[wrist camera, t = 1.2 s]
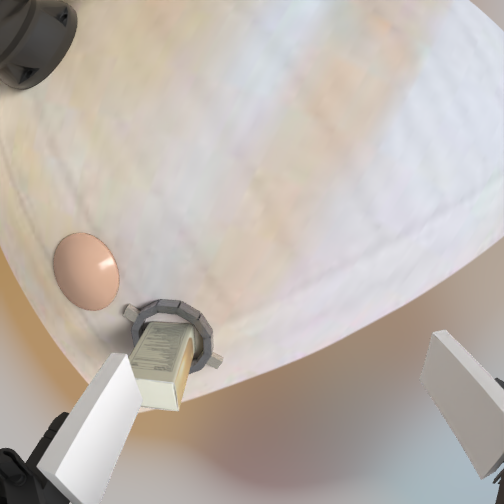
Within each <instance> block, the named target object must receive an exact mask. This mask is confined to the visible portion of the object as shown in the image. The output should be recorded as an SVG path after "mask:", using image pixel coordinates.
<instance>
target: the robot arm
mask: <svg viewBox="0 0 504 504" xmlns="http://www.w3.org/2000/svg"><path fill="white" fill-rule="evenodd" d="M76 28H77V14H76V12H75V10H74V9H73V8H72V7H71V6H69V5H68V4H67V3H65V2H63V1H60V0H0V79H1V80H2V81H3V82H4V83H5V84H6V85H8V86H10V87H14V88H18V89H27V88H30V87H32V86H34V85H36V84H38V83H39V82H41V81H42V80H43V79H45V78H46V77H47V76H48V75H49V74H50V73H51V72H52V71H53V70H54V69H55V68H56V66H57V65H58V64H59V63H60V61H61V60H62V58H63V57H64V55H65V54H66V52H67V51H68V49H69V47H70V45H71V43H72V41H73V38H74V35H75V32H76ZM419 380H420V382H421V384H422V385H423V387H424V388H425V390H426V391H427V392H428V394H429V395H430V397H431V398H432V400H433V401H434V403H435V405H436V406H437V407H438V409H439V411H440V412H441V414H442V415H443V417H444V418H445V420H446V422H447V423H448V425H449V426H450V428H451V430H452V431H453V433H454V434H455V436H456V438H457V439H458V441H459V443H460V444H461V446H462V447H463V449H464V451H465V452H466V454H467V456H468V458H469V459H470V461H471V463H472V464H473V466H474V468H475V470H476V471H477V473H478V475H479V477H480V479H481V480H482V479H483V478H485V477H487V476H489V475H490V474H492V473H493V472H495V471H496V470H497V469H498V468H499V466H500V465H501V464H502V463H503V462H504V382H503V381H502V380H500V379H498V378H495V379H493V378H492V376H491V375H490V374H489V373H488V372H487V371H486V370H485V369H484V368H483V367H482V366H481V365H480V364H479V363H478V362H477V361H476V360H475V359H474V358H473V357H472V355H470V353H469V352H468V351H467V350H466V349H465V348H464V347H463V346H461V345H460V344H459V342H458V341H457V340H456V339H454V338H453V337H452V336H451V335H450V334H449V333H448V332H447V331H446V330H441V331H437V332H433V333H432V336H431V340H430V344H429V348H428V352H427V355H426V359H425V363H424V366H423V370H422V373H421V376H420V379H419ZM142 402H143V399H142V396H141V394H140V391H139V388H138V385H137V383H136V380H135V377H134V374H133V371H132V368H131V365H130V362H129V359H128V356H127V354H123V353H111V354H110V356H109V357H108V358H107V360H106V361H105V363H104V364H103V365H102V367H101V368H100V370H99V371H98V373H97V374H96V375H95V377H94V378H93V380H92V381H91V383H90V384H89V386H88V387H87V389H86V390H85V391H84V393H83V394H82V396H81V397H80V399H79V400H78V402H77V403H76V405H75V406H74V408H73V409H72V411H71V412H70V413H66V412H63V413H62V414H60V415H59V416H58V417H56V418H55V419H54V420H53V422H52V423H51V425H50V426H49V428H48V430H47V431H46V432H45V434H44V437H42V438H41V440H40V441H39V443H38V444H37V446H36V448H35V449H34V451H33V452H32V454H31V455H30V457H29V459H28V460H27V461H26V463H24V461H23V460H22V459H21V458H20V456H19V455H18V454H17V453H16V452H15V451H14V450H12V449H10V448H2V449H0V504H69V502H71V503H72V504H100V503H101V500H102V498H103V495H104V492H105V490H106V487H107V485H108V482H109V480H110V477H111V475H112V472H113V470H114V467H115V465H116V463H117V460H118V458H119V455H120V453H121V451H122V448H123V446H124V443H125V441H126V438H127V436H128V434H129V431H130V429H131V427H132V425H133V422H134V420H135V418H136V416H137V413H138V411H139V409H140V406H141V404H142ZM500 477H501V480H500V481H499V483H498V484H500V486H499V491H498V495H497V500H496V503H495V504H504V469H503V470H502V471H501V472H500V473H499V474H498V475H497V477H496V478H495V479H494V481H493V483H496V482H497V481H498V479H499V478H500Z"/></svg>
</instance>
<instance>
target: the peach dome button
mask: <svg viewBox="0 0 504 504" xmlns="http://www.w3.org/2000/svg"><path fill="white" fill-rule="evenodd" d="M54 273H55V277H56V280H57V283H58V285H59V287H60V289H61V290H62V292H63V293H64V295H65V296H66V297H67V298H68V299H69V300H70V301H71V302H72V303H73V304H75V305H76V306H78V307H80V308H82V309H85V310H91V311H95V310H101V309H103V308H105V307H106V306H108V305H109V304H110V303H111V302H112V301H113V299H114V298H115V296H116V294H117V292H118V288H119V271H118V267H117V264H116V261H115V259H114V257H113V255H112V253H111V252H110V250H109V249H108V248H107V246H106V245H105V244H104V243H103V242H102V241H100V240H99V239H98V238H96V237H94V236H92V235H90V234H86V233H75V234H72V235H69V236H67V237H66V238H64V239H63V240H62V241H61V242H60V244H59V245H58V247H57V249H56V251H55V255H54Z"/></svg>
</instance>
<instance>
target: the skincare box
mask: <svg viewBox="0 0 504 504" xmlns="http://www.w3.org/2000/svg"><path fill="white" fill-rule="evenodd" d="M194 352H195V339H194V327H193V325H192V324H183V323H165V322H150V323H149V324H148V326H147V328H146V329H145V331H144V333H143V334H142V336H141V338H140V339H139V341H138V343H137V344H136V346H135V348H134V350H133V351H132V353H131V355H130V356H129V358H128V359H129V362H130V365H131V368H132V371H133V374H134V377H135V380H136V383H137V385H138V388H139V391H140V394H141V396H142V399H143V402H142V404H141V406H140V407H145V408H152V409H162V410H172V411H179V408H180V404H181V400H182V396H183V393H184V389H185V385H186V381H187V378H188V374H189V370H190V367H191V363H192V359H193V356H194Z"/></svg>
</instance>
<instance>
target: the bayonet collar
mask: <svg viewBox="0 0 504 504" xmlns="http://www.w3.org/2000/svg"><path fill="white" fill-rule="evenodd" d="M157 313H168V314H177V315H179V316H180V317H182V318H184V319H186V320H187V321H189V322H191V323H193V324H194V326H195V327H196V329H197V330H198V332H199V333H200V334H201V336H202V337H203V344H204V350H203V351H202V352H201V354H200V355H199V357H197V358H195V359H192V363H191V367H190V370H189V374H191V373H193V372H196V371H199V370H201V369H202V368H203V367H204V366H205V364H208V365H210V366H212V367H214V368H216V369H217V368H218V367H219V366H220V365H221V363H222V362H223V357H221V356H219V355H217V354H216V353H214V352H212V351H213V331H212V328H211V326H210V325H209V323H208V322H207V320H206V319H205V317H204V316H203V314H202V313H200V311H198V310H196V309H194V308H193V307H191V306H189V305H188V304H186V303H184V302H181V301H176V300H163V299H160V300H157V301H155V302H153V303H151V304H150V305H148V306H146V307H144V308H143V309H142V310H141V311H140V310H139V309H137V308H135V307H134V306H132V305H131V304H129V305H128V306H127V308H126V310H125V312H124V314H123V316H124V317H126V318H127V319H129V320H130V321H132V322H134V324H133V326H132V330H131V332H132V338H133V343H134V347H135V346H136V344H137V343H138V341H139V339H140V338H141V336H142V334H143V333H144V332H143V324H144V322H145V320H146V318H148V317H150V316H152V315H155V314H157Z"/></svg>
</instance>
